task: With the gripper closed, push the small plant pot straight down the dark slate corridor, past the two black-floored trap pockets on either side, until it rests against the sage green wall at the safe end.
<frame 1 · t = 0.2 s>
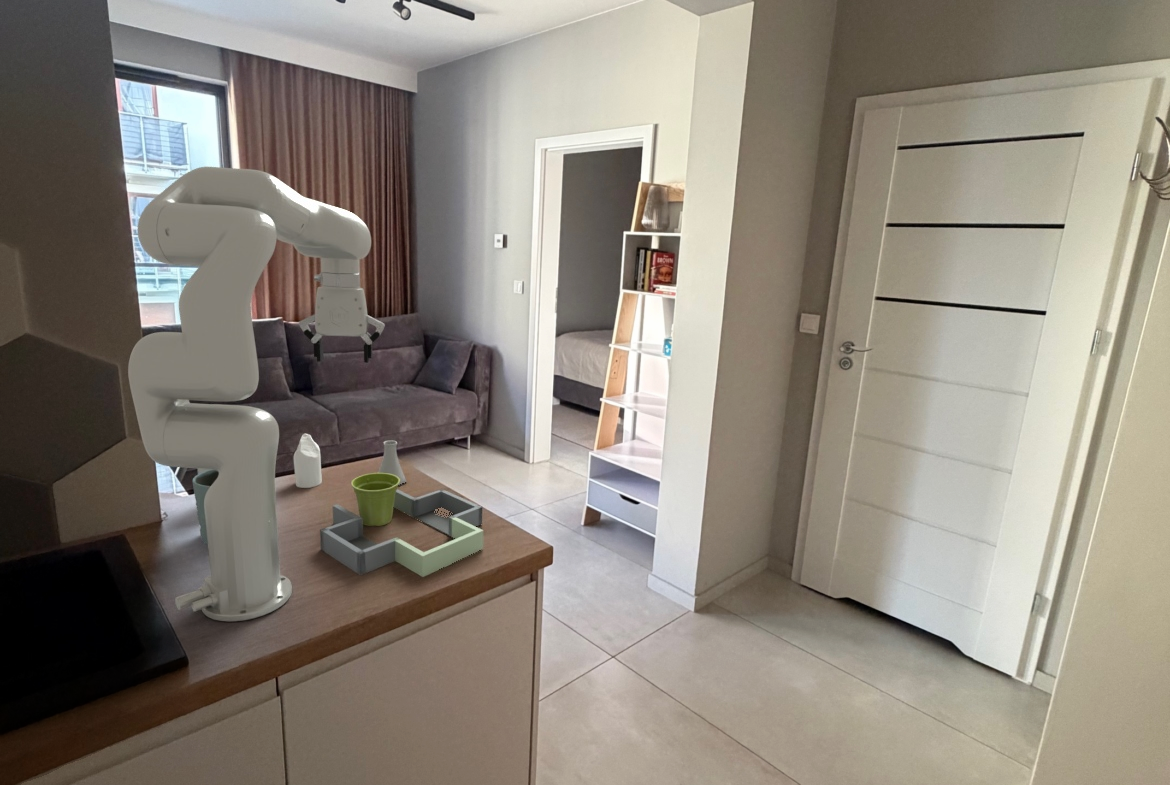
hand: (343, 361, 134), 30 cm above the kitchen counter, tool pointing down, fingers open, 9 cm apart
white broken column: (308, 484, 143), on the kitchen counter
flask: (390, 483, 147), on the kitchen counter
plant pot: (376, 521, 127), on the kitchen counter
small box: (225, 506, 129), on the kitchen counter
sage green cup: (229, 536, 117), on the kitchen counter
trap box: (407, 537, 121), on the kitchen counter
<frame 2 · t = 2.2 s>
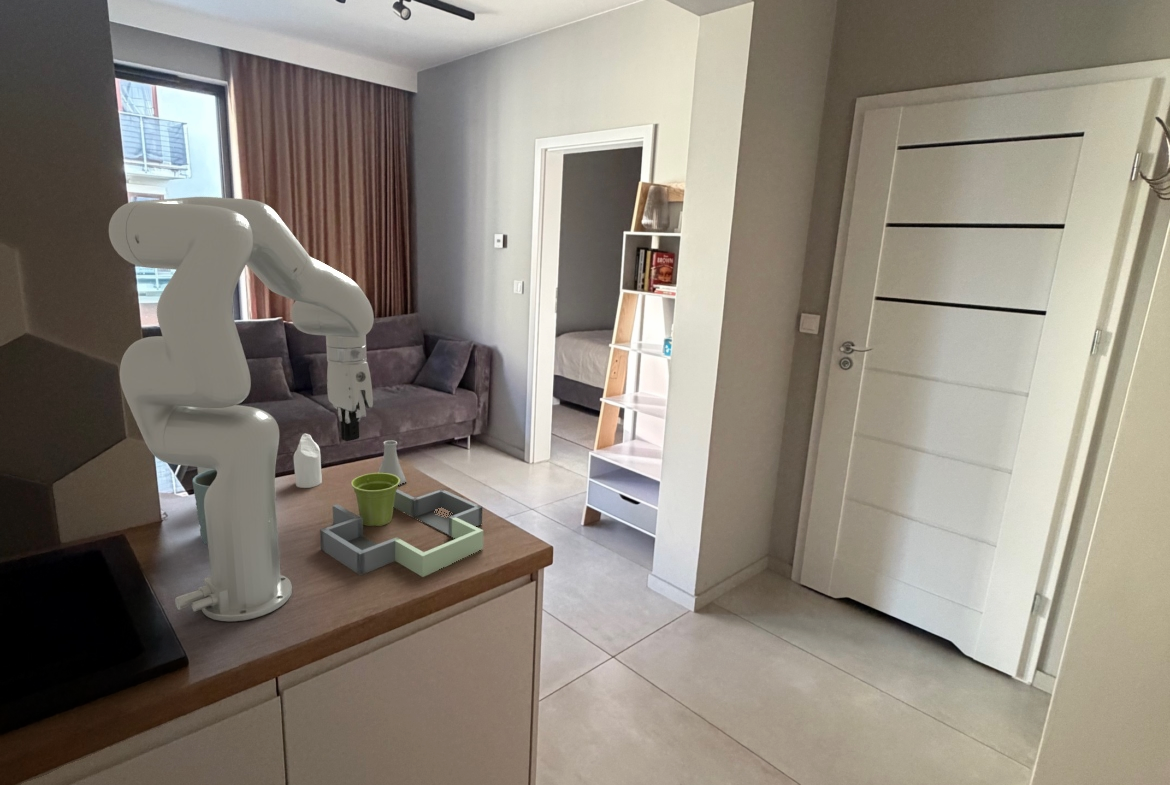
hand: (350, 438, 130), 15 cm above the kitchen counter, tool pointing down, fingers closed
nothing on the kitchen counter moved.
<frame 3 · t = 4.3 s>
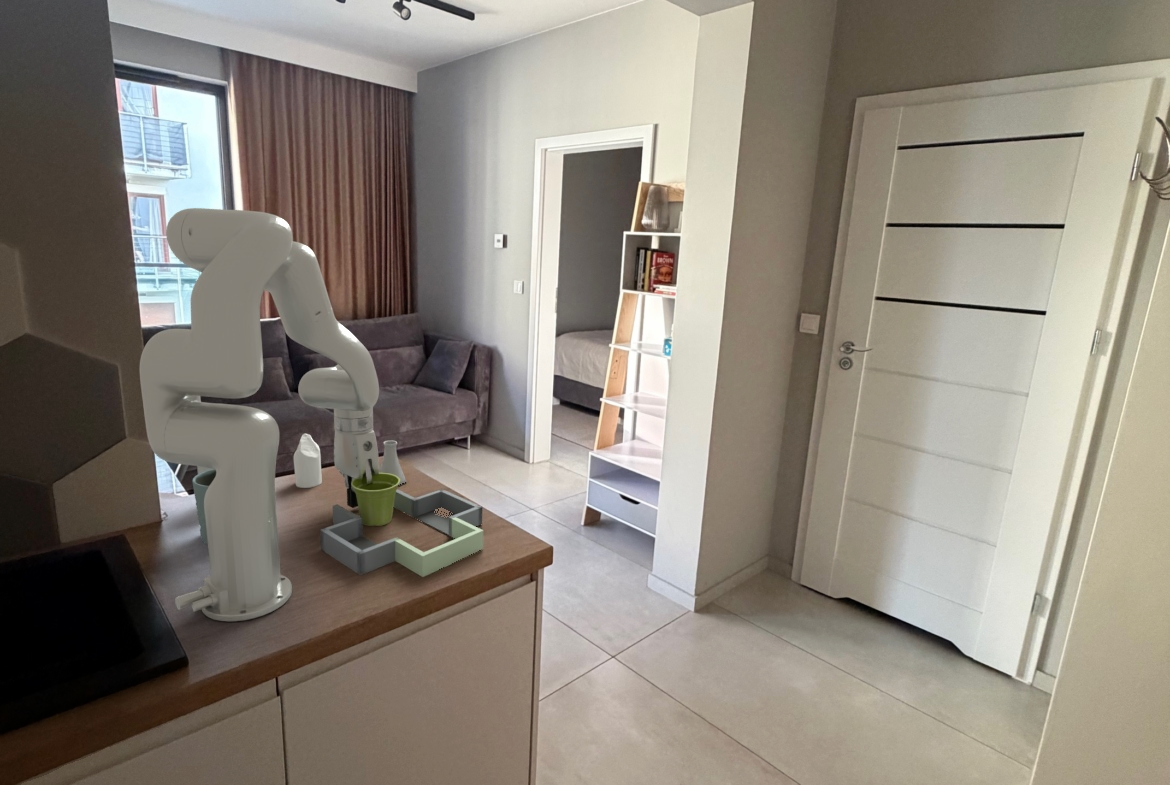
hand: (356, 504, 131), 1 cm above the kitchen counter, tool pointing down, fingers closed
plant pot: (376, 521, 127), on the kitchen counter, touching gripper
everything else where it was.
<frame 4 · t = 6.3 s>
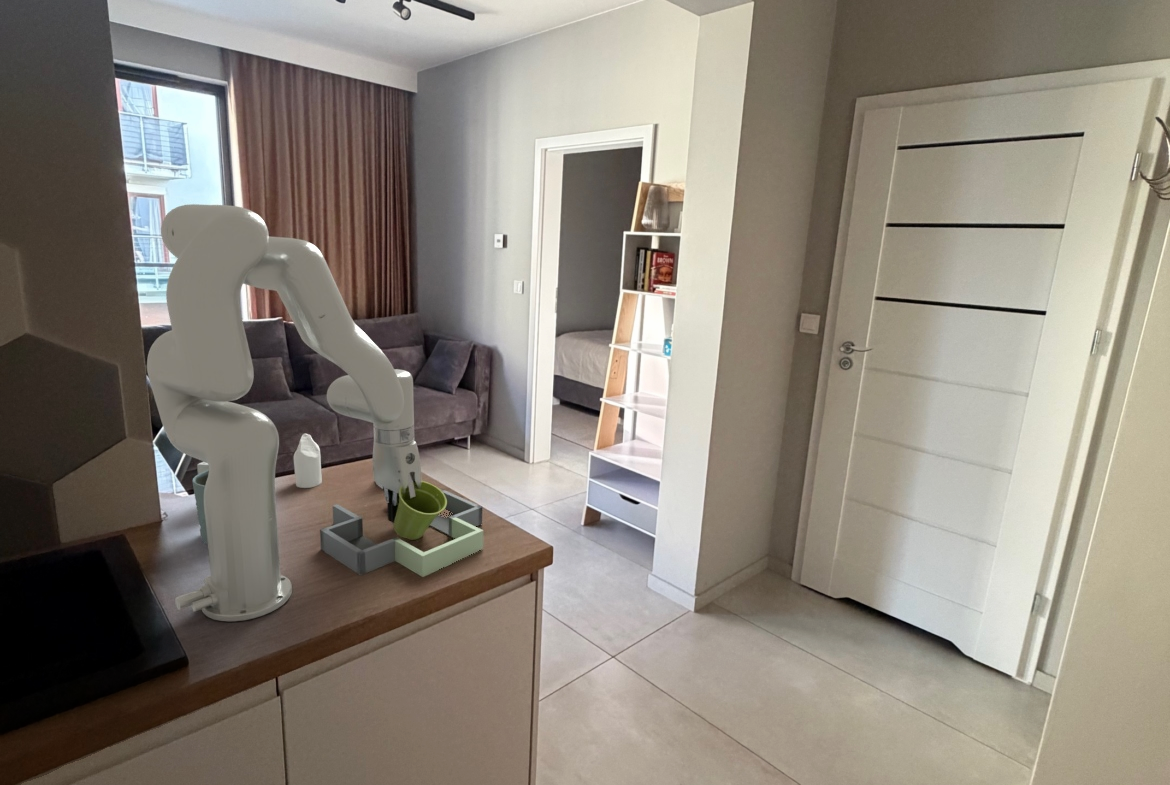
hand: (397, 519, 124), 2 cm above the kitchen counter, tool pointing down, fingers closed
plant pot: (408, 530, 121), point 1 cm above the kitchen counter, touching gripper
everything else where it was.
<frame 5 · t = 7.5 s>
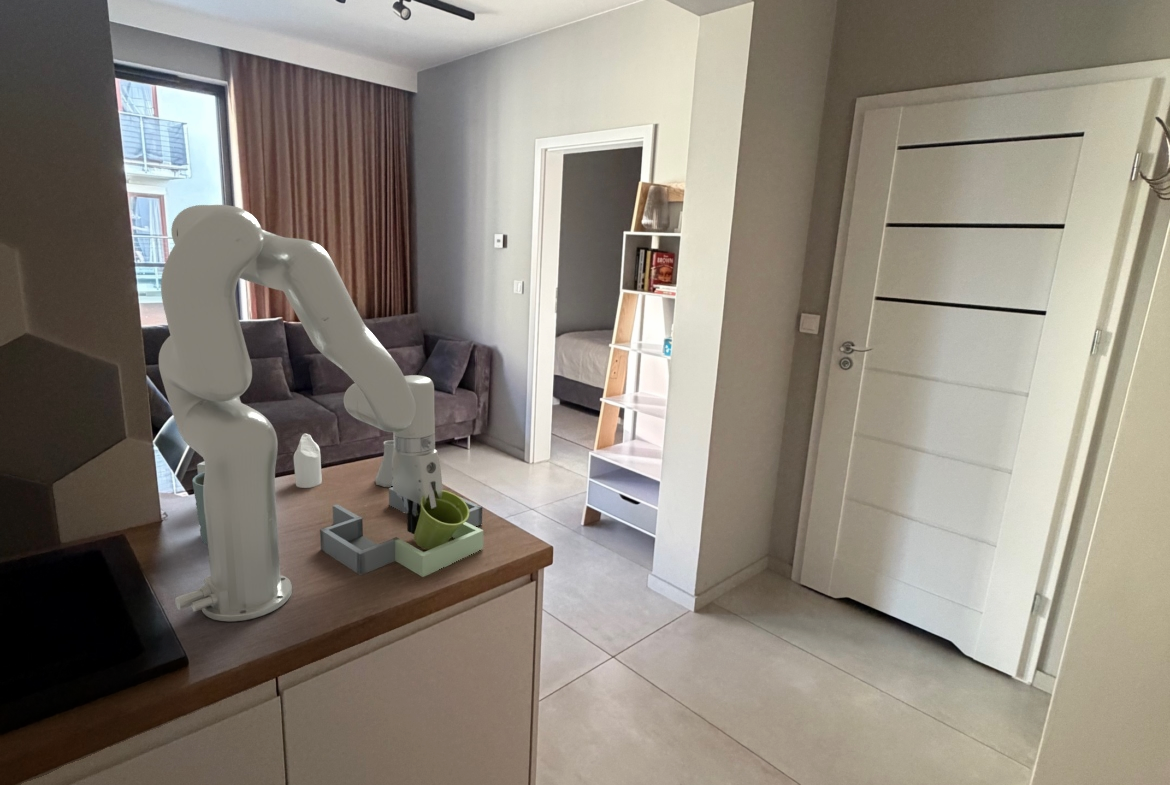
hand: (416, 530, 120), 2 cm above the kitchen counter, tool pointing down, fingers closed
plant pot: (429, 541, 117), point 1 cm above the kitchen counter, touching gripper
everything else where it was.
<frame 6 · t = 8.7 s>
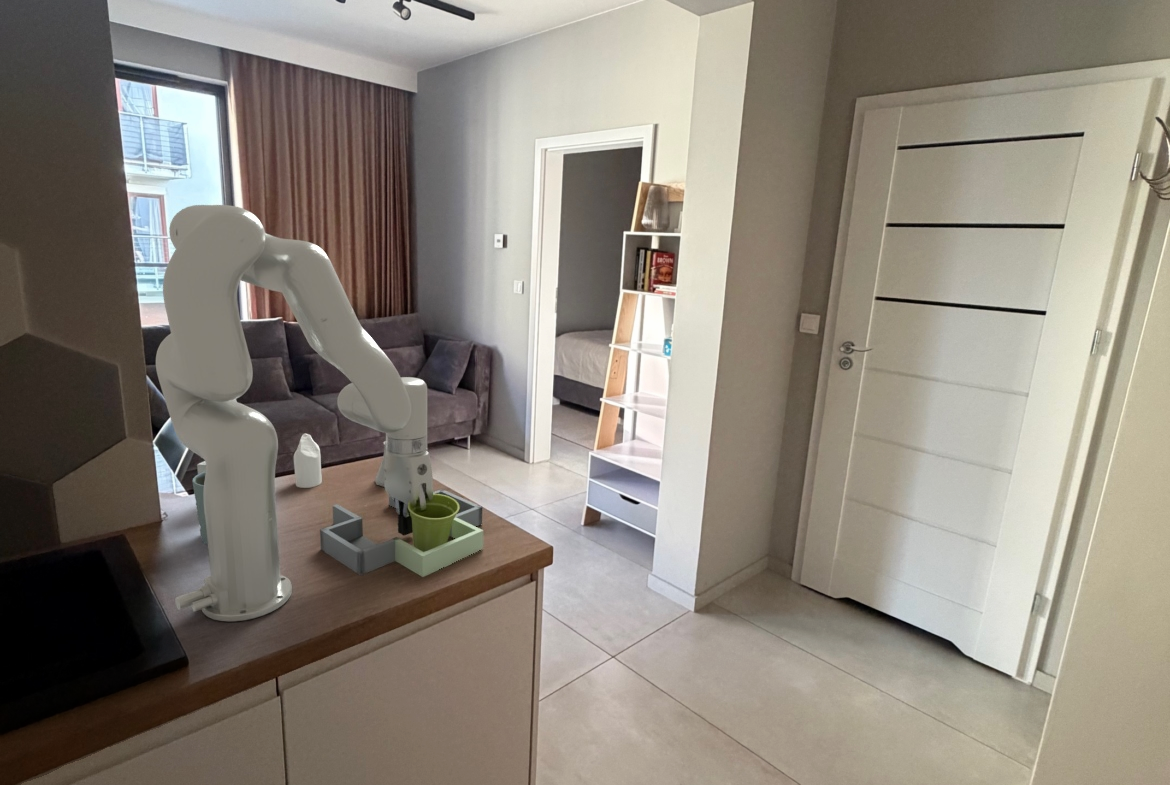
hand: (407, 532, 120), 1 cm above the kitchen counter, tool pointing down, fingers closed
plant pot: (430, 547, 117), on the kitchen counter, touching gripper
everything else where it was.
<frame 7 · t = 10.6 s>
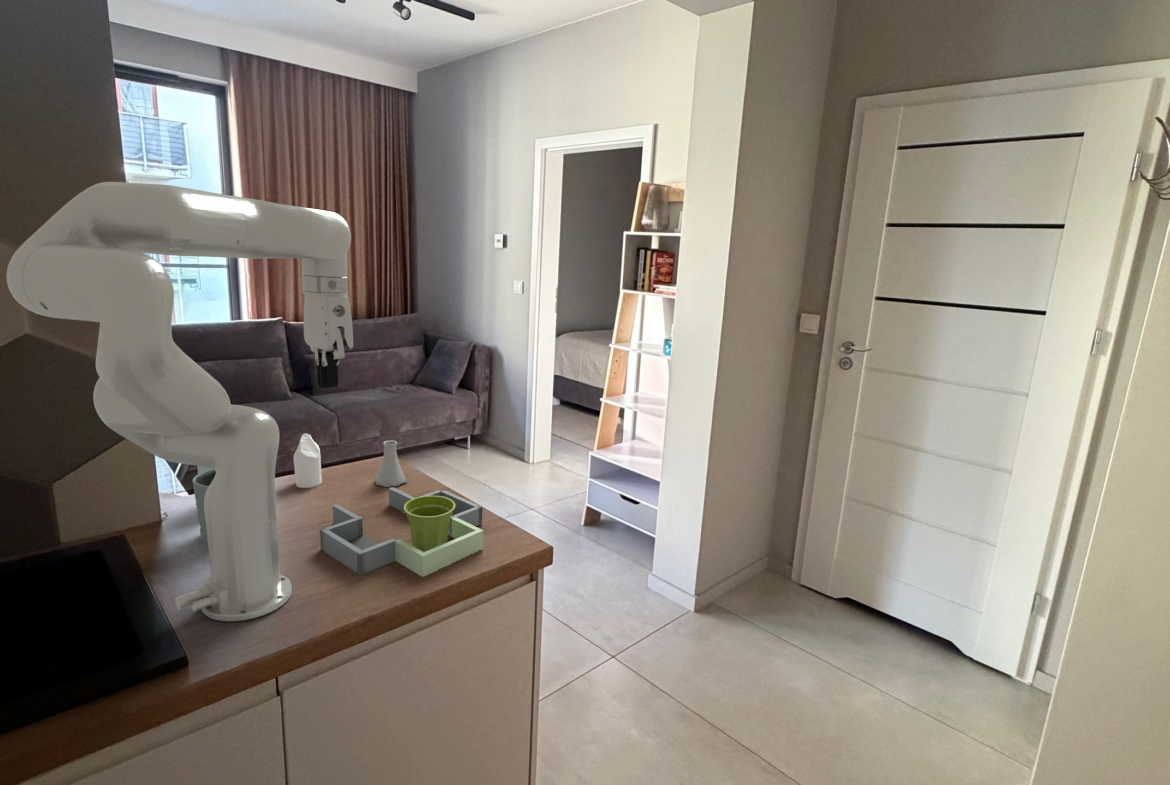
hand: (328, 386, 114), 29 cm above the kitchen counter, tool pointing down, fingers closed
plant pot: (429, 548, 117), on the kitchen counter
everything else where it was.
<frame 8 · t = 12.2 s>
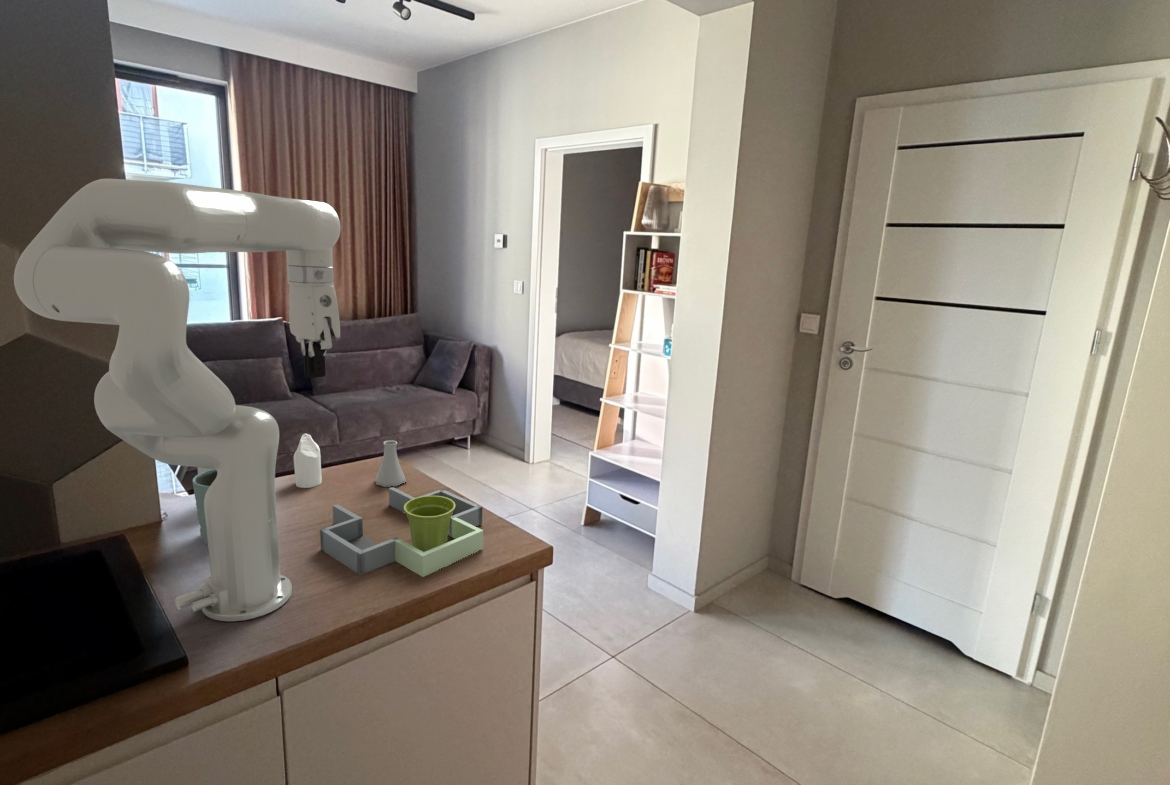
hand: (315, 376, 114), 31 cm above the kitchen counter, tool pointing down, fingers closed
nothing on the kitchen counter moved.
at the end: plant pot inside the target area (2.5 cm from its centre), on the kitchen counter; plant pot tilted 0°; plant pot moved 16.8 cm from its start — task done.
